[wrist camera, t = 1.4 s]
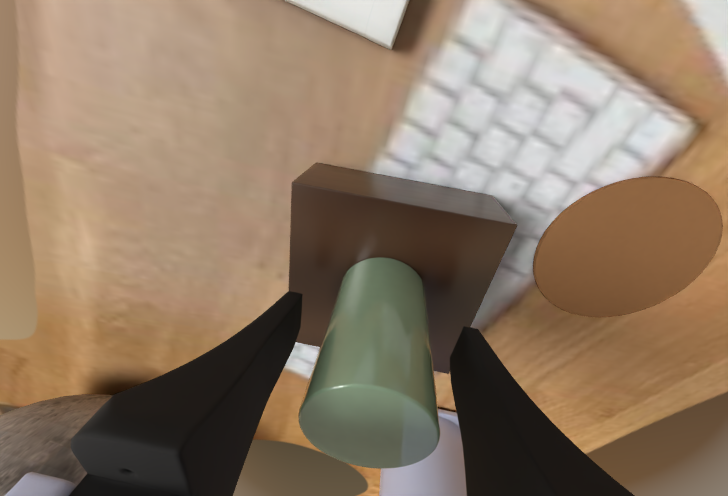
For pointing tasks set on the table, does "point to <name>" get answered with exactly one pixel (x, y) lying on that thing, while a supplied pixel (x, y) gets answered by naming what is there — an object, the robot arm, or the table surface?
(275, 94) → the table surface
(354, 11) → the hard drive
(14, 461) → the moon model
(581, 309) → the coaster
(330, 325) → the sage green cylinder
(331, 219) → the stand
